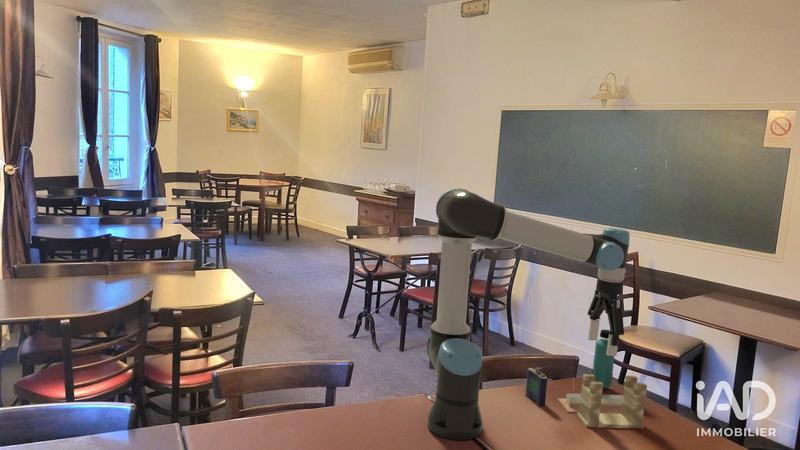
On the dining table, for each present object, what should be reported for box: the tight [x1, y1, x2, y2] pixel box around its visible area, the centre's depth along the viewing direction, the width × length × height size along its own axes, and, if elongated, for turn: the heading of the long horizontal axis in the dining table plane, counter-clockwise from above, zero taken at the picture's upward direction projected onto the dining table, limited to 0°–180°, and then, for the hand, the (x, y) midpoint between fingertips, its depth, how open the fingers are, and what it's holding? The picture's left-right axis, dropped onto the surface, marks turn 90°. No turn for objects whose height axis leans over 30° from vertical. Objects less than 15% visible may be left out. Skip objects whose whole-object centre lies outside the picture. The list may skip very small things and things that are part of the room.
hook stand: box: [576, 373, 648, 429], centre depth 168 cm, size 17×7×13 cm, turn 95°
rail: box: [565, 393, 623, 408], centre depth 179 cm, size 18×3×3 cm, turn 95°
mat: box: [557, 397, 621, 414], centre depth 179 cm, size 21×9×1 cm, turn 95°
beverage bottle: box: [591, 329, 615, 389], centre depth 193 cm, size 6×7×20 cm
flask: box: [524, 367, 548, 407], centre depth 180 cm, size 9×3×11 cm, turn 21°
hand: (601, 347), depth 176 cm, fingers open, 13 cm apart
